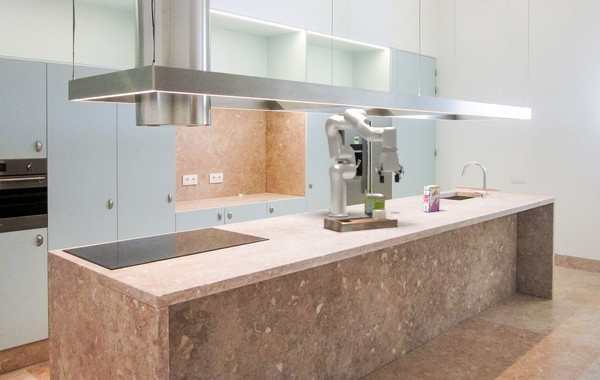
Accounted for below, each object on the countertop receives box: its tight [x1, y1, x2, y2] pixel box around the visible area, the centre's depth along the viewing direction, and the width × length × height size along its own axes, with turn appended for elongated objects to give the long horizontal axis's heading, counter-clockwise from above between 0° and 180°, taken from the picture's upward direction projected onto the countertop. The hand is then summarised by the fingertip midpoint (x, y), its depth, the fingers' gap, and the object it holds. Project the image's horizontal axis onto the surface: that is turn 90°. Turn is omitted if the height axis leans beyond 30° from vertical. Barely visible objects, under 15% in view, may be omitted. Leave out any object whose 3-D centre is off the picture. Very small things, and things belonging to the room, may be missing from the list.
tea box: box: [364, 193, 386, 217], centre depth 292 cm, size 15×10×15 cm, turn 179°
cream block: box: [372, 210, 387, 220], centre depth 277 cm, size 5×5×4 cm
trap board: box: [323, 216, 398, 233], centre depth 268 cm, size 16×35×5 cm, turn 117°
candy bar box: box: [422, 185, 441, 213], centre depth 329 cm, size 11×5×16 cm, turn 130°
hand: (389, 182), depth 276 cm, fingers open, 9 cm apart
